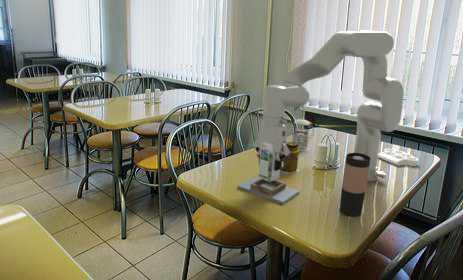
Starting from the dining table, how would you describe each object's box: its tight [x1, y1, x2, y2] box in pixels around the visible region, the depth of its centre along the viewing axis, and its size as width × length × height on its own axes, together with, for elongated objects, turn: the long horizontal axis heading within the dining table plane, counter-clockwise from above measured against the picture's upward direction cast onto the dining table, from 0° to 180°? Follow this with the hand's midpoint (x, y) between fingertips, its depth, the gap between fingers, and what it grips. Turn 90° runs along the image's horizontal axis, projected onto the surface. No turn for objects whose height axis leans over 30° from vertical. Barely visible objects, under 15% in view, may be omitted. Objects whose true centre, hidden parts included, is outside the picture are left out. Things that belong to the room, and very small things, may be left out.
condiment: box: [280, 141, 302, 175], centre depth 158 cm, size 7×8×12 cm
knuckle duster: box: [378, 148, 419, 167], centre depth 176 cm, size 3×18×15 cm
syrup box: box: [257, 142, 281, 182], centre depth 135 cm, size 6×6×14 cm
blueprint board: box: [237, 176, 300, 205], centre depth 138 cm, size 20×12×1 cm, turn 52°
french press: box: [292, 105, 315, 152], centre depth 185 cm, size 10×12×25 cm
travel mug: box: [339, 152, 371, 218], centre depth 122 cm, size 8×8×20 cm
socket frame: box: [250, 178, 287, 196], centre depth 138 cm, size 10×10×2 cm
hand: (269, 166), depth 135 cm, fingers closed on syrup box, 6 cm apart
